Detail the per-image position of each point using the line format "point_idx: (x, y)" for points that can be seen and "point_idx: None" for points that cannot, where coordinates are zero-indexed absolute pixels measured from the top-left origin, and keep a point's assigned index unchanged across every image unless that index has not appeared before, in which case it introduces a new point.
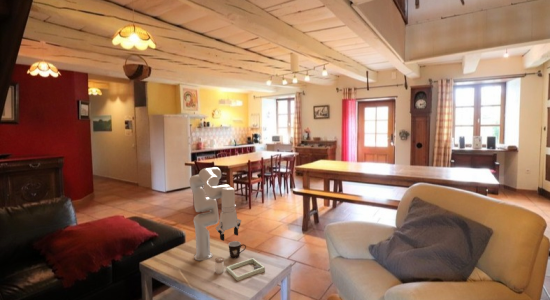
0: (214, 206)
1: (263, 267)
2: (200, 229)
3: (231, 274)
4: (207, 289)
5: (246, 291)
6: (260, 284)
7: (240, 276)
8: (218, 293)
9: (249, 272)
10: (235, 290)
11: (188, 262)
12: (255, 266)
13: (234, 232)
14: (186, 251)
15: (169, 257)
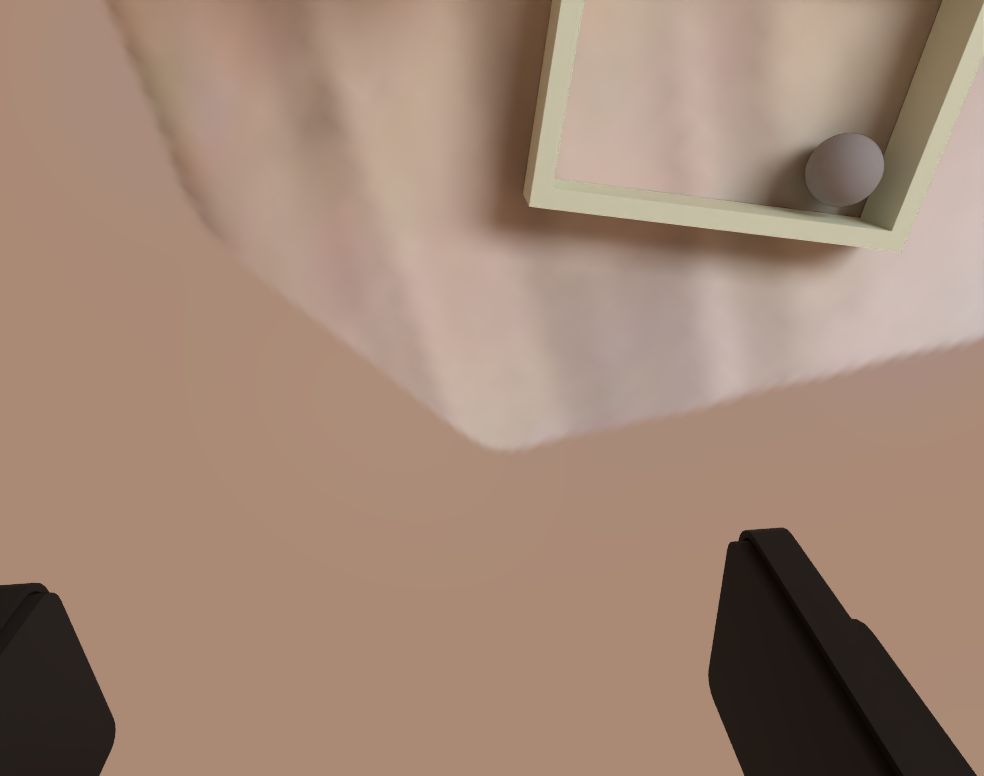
0: None
1: (883, 248)
2: None
3: (550, 31)
4: (174, 75)
5: (491, 385)
6: (655, 384)
7: (573, 209)
8: (256, 234)
9: (698, 222)
10: (421, 307)
11: None
12: (844, 170)
13: (765, 635)
14: None
15: None
